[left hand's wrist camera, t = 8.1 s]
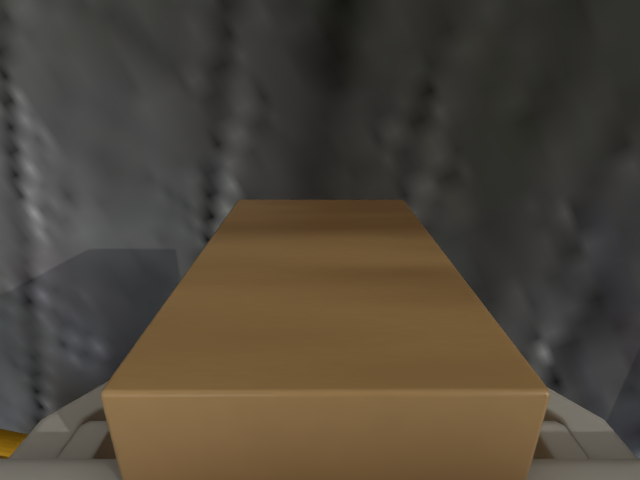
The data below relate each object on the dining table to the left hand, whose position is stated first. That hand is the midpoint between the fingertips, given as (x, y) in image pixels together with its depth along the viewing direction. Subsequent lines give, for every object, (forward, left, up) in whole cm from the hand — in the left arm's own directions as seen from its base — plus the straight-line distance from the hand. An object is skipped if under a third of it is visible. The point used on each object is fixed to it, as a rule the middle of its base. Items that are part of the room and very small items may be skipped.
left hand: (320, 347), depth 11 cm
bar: (+9, 0, -3) cm, 9 cm away
